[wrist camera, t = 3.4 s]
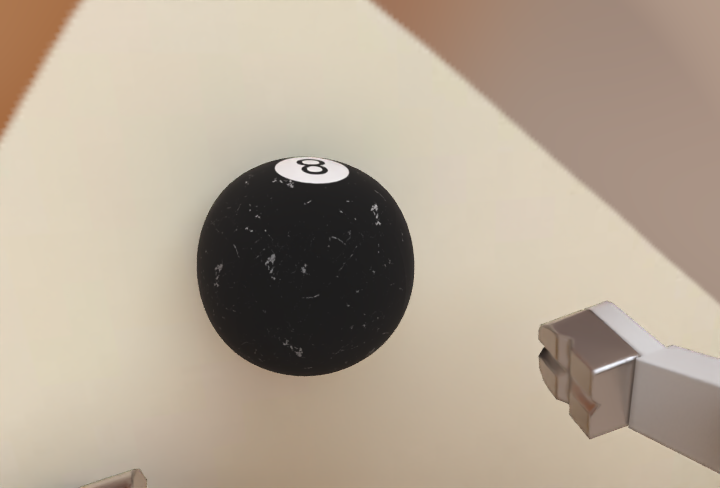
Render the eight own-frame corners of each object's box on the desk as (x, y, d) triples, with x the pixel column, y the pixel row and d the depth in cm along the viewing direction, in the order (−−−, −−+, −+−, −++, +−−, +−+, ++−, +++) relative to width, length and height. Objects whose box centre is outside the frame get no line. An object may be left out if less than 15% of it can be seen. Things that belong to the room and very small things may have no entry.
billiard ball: (196, 302, 19) (206, 436, 14) (188, 128, 17) (197, 219, 12) (366, 289, 21) (428, 404, 16) (385, 130, 18) (467, 209, 13)
